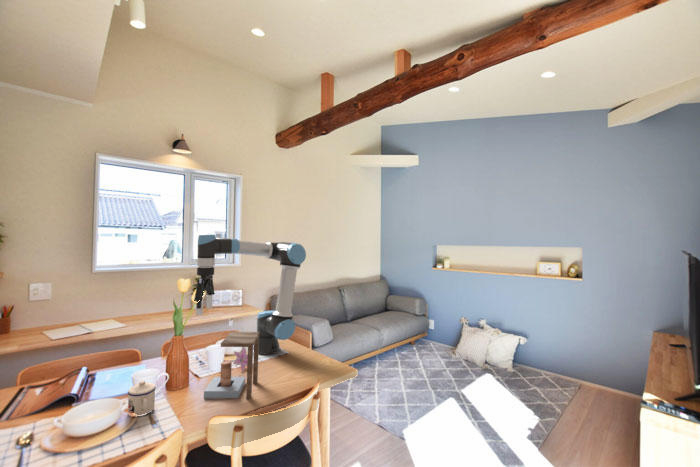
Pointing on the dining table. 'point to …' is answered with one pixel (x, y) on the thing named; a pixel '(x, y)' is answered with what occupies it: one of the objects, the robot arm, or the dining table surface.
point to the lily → (241, 358)
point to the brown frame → (248, 341)
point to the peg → (225, 374)
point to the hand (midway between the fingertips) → (204, 311)
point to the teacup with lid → (141, 398)
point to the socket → (224, 388)
